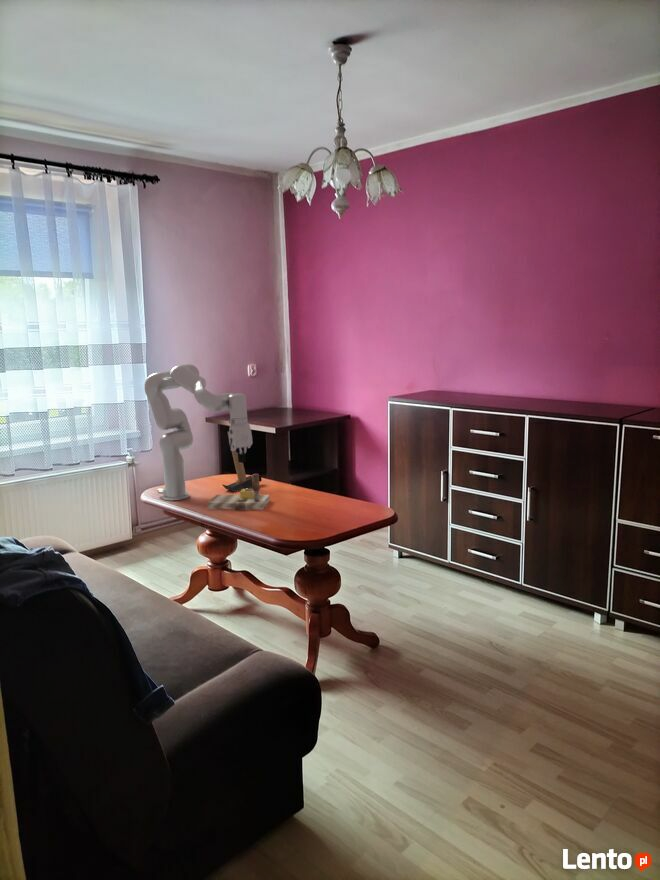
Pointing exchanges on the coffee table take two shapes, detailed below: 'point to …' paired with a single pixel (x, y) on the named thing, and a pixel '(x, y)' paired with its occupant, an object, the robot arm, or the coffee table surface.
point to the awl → (256, 486)
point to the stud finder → (247, 493)
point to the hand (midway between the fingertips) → (242, 462)
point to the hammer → (240, 476)
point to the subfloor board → (237, 502)
